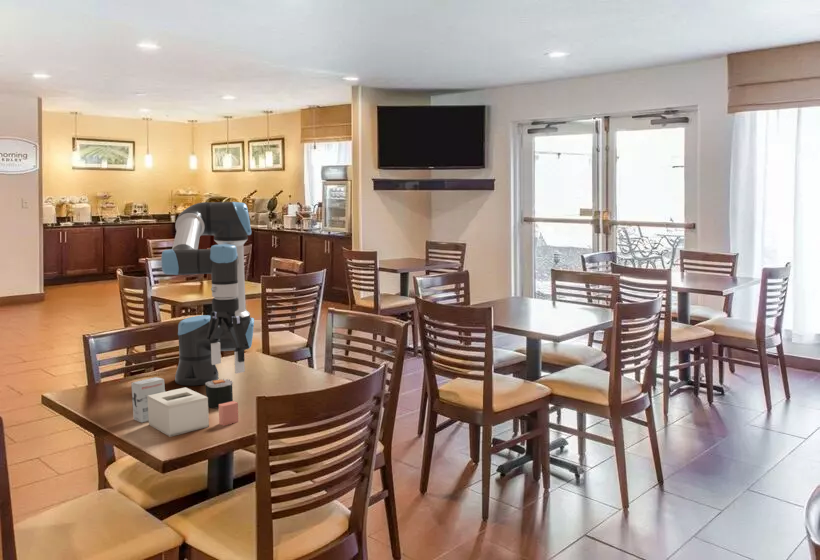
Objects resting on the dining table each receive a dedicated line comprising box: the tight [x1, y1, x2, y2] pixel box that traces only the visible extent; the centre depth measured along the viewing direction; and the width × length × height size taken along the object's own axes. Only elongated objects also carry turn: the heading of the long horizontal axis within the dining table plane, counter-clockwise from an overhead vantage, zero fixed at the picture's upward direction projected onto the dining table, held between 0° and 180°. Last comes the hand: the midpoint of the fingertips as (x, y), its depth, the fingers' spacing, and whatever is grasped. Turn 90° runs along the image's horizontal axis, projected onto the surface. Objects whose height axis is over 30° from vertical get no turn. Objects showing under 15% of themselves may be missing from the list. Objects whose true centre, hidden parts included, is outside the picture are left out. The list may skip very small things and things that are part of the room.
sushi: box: [204, 378, 234, 409], centre depth 225 cm, size 8×8×8 cm
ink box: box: [131, 376, 166, 424], centre depth 211 cm, size 8×5×12 cm, turn 140°
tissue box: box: [147, 387, 210, 438], centre depth 204 cm, size 14×12×9 cm
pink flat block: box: [218, 400, 239, 427], centre depth 207 cm, size 2×5×6 cm, turn 134°
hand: (227, 368), depth 205 cm, fingers open, 13 cm apart
